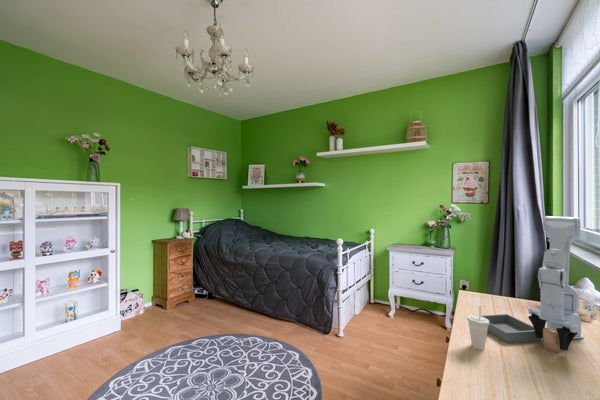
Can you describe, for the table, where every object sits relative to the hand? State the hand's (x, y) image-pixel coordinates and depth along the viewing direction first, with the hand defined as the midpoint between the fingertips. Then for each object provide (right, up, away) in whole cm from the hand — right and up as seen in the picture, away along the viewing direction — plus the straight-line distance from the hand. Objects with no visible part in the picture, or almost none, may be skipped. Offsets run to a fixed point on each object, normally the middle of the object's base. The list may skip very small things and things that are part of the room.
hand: (551, 343), depth 91 cm
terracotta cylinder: (0, -2, 0) cm, 2 cm away
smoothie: (-24, -2, +1) cm, 24 cm away
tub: (-6, -2, +11) cm, 13 cm away
